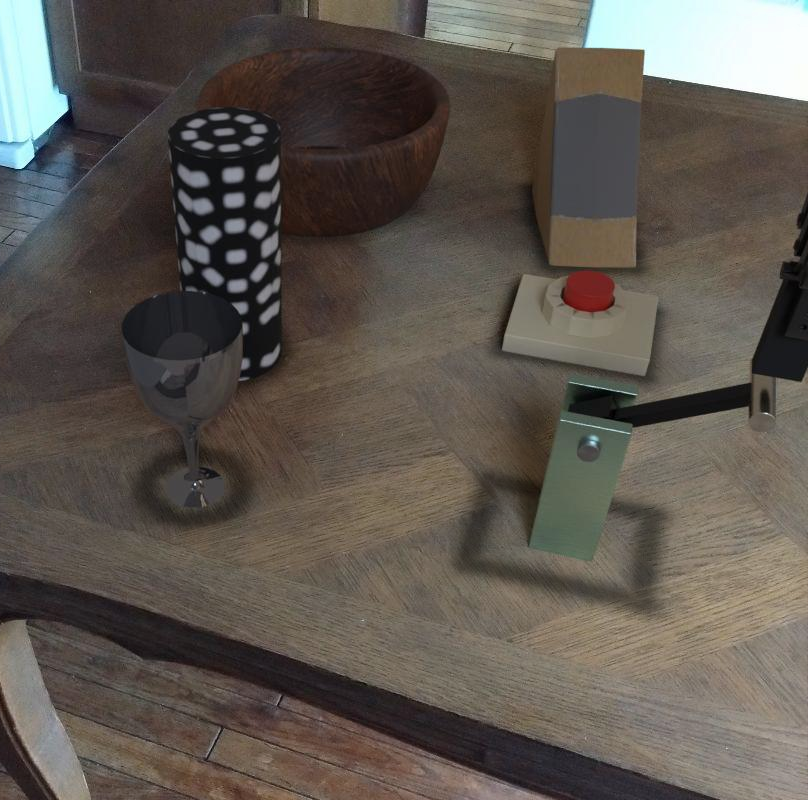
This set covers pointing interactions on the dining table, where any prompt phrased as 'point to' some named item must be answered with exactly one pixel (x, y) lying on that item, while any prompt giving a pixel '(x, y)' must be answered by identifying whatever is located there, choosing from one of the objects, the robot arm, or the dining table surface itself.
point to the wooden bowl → (341, 132)
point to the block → (581, 327)
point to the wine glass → (185, 374)
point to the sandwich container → (590, 158)
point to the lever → (694, 405)
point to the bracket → (582, 471)
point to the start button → (589, 291)
